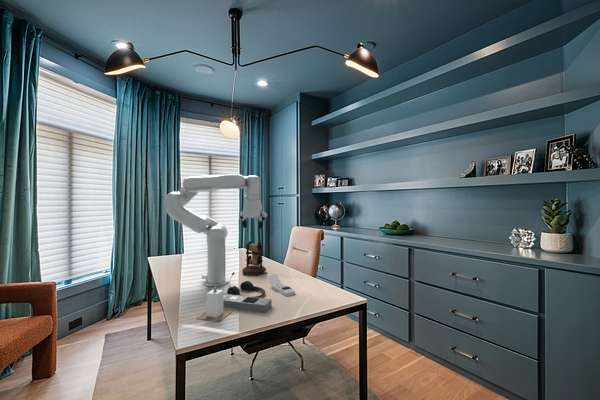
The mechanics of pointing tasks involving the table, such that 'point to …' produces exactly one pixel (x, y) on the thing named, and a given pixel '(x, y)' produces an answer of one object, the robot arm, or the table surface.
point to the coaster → (214, 319)
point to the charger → (214, 303)
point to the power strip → (246, 303)
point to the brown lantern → (254, 259)
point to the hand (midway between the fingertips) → (252, 228)
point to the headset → (245, 288)
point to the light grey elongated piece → (280, 285)
